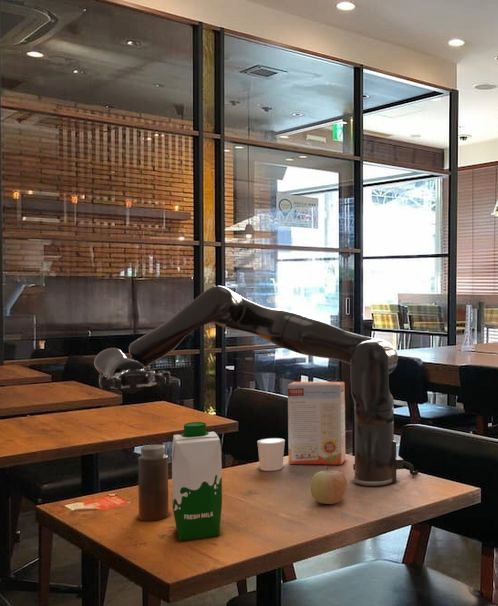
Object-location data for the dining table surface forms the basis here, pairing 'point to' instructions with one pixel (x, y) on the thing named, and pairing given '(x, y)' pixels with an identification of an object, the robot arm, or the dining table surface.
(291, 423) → the cracker box
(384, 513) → the dining table surface
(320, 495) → the fruit
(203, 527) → the milk carton
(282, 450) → the white cup
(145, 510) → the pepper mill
